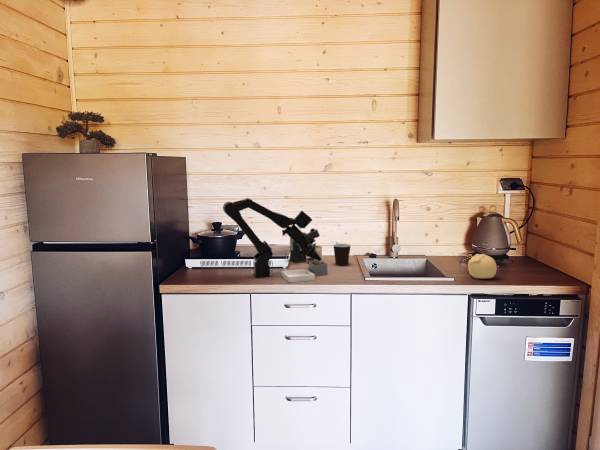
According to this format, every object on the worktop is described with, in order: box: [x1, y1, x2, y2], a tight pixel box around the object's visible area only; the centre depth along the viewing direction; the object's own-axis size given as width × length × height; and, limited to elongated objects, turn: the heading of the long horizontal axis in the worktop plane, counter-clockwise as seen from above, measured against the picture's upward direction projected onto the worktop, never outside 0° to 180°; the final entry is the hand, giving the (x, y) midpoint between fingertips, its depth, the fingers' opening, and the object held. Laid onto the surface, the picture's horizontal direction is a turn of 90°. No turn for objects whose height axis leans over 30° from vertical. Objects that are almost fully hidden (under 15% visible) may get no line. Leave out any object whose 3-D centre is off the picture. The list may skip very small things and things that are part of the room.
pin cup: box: [308, 260, 328, 277], centre depth 210 cm, size 7×7×5 cm
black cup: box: [333, 243, 351, 267], centre depth 228 cm, size 12×9×10 cm
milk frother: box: [289, 237, 314, 263], centre depth 235 cm, size 14×16×15 cm
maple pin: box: [313, 245, 323, 265], centre depth 209 cm, size 4×4×13 cm
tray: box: [280, 268, 316, 283], centre depth 202 cm, size 12×12×2 cm
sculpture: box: [467, 253, 498, 279], centre depth 199 cm, size 11×12×11 cm
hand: (321, 259), depth 209 cm, fingers closed on maple pin, 4 cm apart
